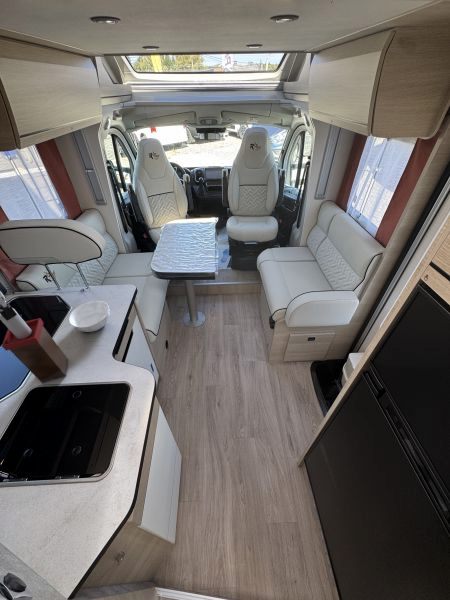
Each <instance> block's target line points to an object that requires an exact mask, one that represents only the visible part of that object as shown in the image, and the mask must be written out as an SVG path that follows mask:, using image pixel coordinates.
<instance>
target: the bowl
mask: <svg viewBox="0 0 450 600" xmlns="http://www.w3.org/2000/svg"><path fill="white" fill-rule="evenodd" d="M110 316H111V310H110V306H109V304H108V303H107V302H106V301H101V300H91V301H88V302H84V303H82V304H80V305H79V306H77V307H76V308H74V310H72V312H70V315H69V318H68V321H69V324H70V325H71V326H72V327H73V328H74V329H75V330H78V331H80V332H85V333H90V332H91V333H92V332H95V331H98V330H100V329H103V327H104V326H105V325H106V324H107V323H108V322H109V319H110Z"/></svg>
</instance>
